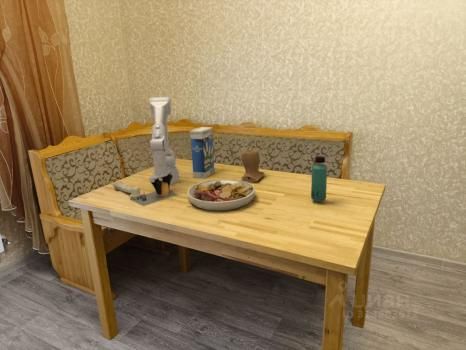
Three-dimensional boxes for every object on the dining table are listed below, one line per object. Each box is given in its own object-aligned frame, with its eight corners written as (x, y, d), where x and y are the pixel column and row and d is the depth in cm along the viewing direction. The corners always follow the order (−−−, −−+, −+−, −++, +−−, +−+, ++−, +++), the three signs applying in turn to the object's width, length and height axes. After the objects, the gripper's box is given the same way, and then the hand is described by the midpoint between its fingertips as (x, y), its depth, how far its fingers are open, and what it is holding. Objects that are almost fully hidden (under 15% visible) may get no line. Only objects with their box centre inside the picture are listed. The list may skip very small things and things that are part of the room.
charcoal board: (163, 190, 164) (162, 182, 162) (178, 196, 155) (177, 187, 154) (129, 201, 152) (128, 192, 150) (143, 208, 143) (142, 198, 142)
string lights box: (205, 178, 180) (202, 131, 172) (192, 177, 182) (189, 130, 175) (215, 171, 191) (212, 127, 184) (203, 170, 194) (200, 126, 186)
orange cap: (164, 191, 160) (163, 181, 158) (170, 193, 156) (169, 183, 155) (155, 194, 157) (154, 184, 155) (161, 196, 153) (160, 186, 152)
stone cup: (246, 173, 187) (245, 147, 182) (266, 175, 182) (266, 148, 178) (235, 181, 173) (234, 153, 169) (257, 184, 169) (257, 155, 164)
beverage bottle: (326, 199, 146) (329, 155, 140) (325, 205, 140) (327, 159, 134) (311, 198, 148) (313, 154, 142) (309, 204, 142) (311, 158, 136)
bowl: (209, 185, 170) (208, 170, 167) (264, 193, 157) (264, 177, 154) (174, 207, 144) (173, 190, 142) (237, 218, 131) (237, 199, 129)
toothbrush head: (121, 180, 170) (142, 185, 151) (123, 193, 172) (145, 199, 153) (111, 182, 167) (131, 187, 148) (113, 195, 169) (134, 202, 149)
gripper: (162, 159, 160) (165, 186, 164) (142, 167, 148) (146, 196, 152) (175, 160, 157) (177, 188, 161) (155, 169, 145) (158, 198, 149)
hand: (163, 192), depth 156 cm, fingers closed on orange cap, 5 cm apart
